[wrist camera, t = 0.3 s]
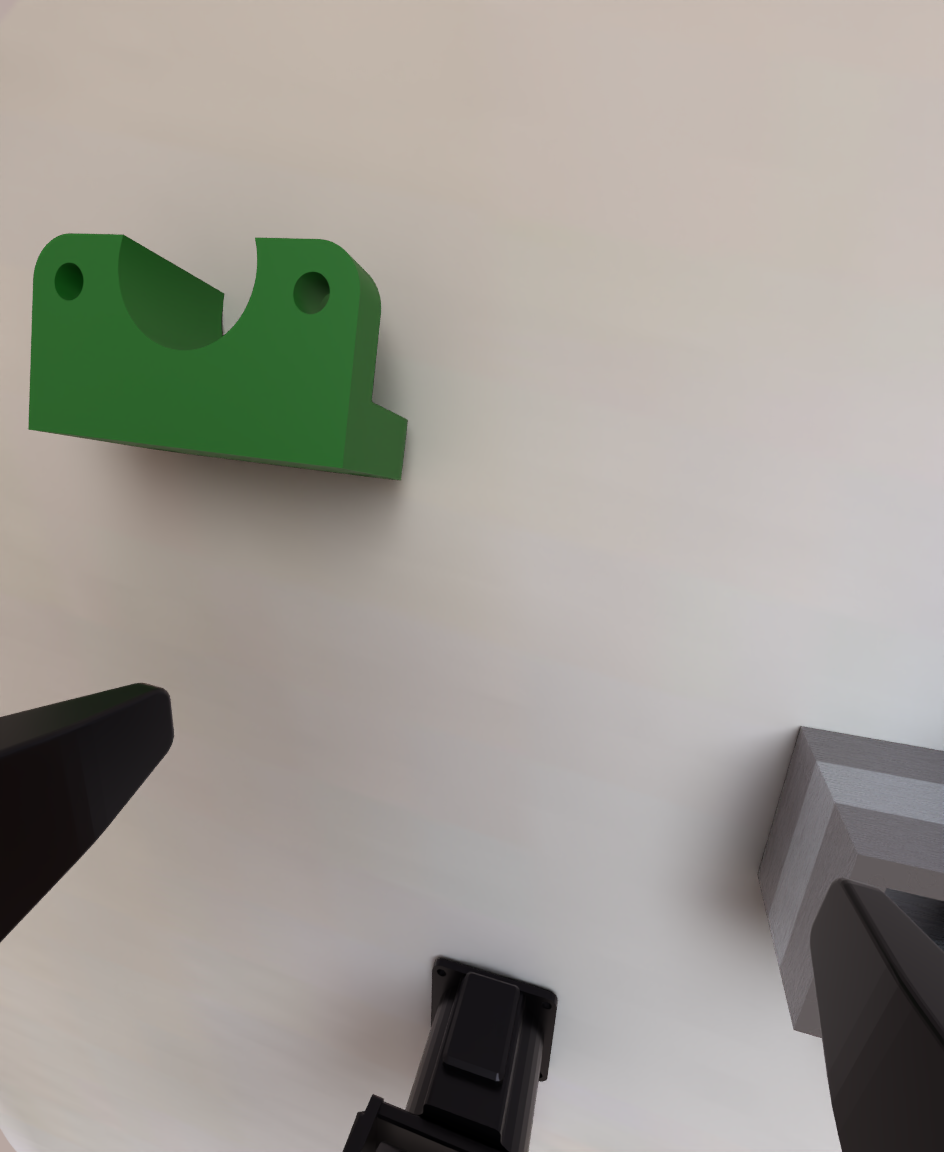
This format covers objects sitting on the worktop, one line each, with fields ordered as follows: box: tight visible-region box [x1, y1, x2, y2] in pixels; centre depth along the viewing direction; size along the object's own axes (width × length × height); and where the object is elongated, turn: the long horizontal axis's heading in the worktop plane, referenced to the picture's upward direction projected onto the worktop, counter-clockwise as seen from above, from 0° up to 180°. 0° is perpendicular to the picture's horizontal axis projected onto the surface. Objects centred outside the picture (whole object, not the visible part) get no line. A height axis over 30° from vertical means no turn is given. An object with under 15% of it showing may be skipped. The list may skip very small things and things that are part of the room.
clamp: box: [29, 234, 408, 480], centre depth 19 cm, size 12×6×9 cm, turn 80°
